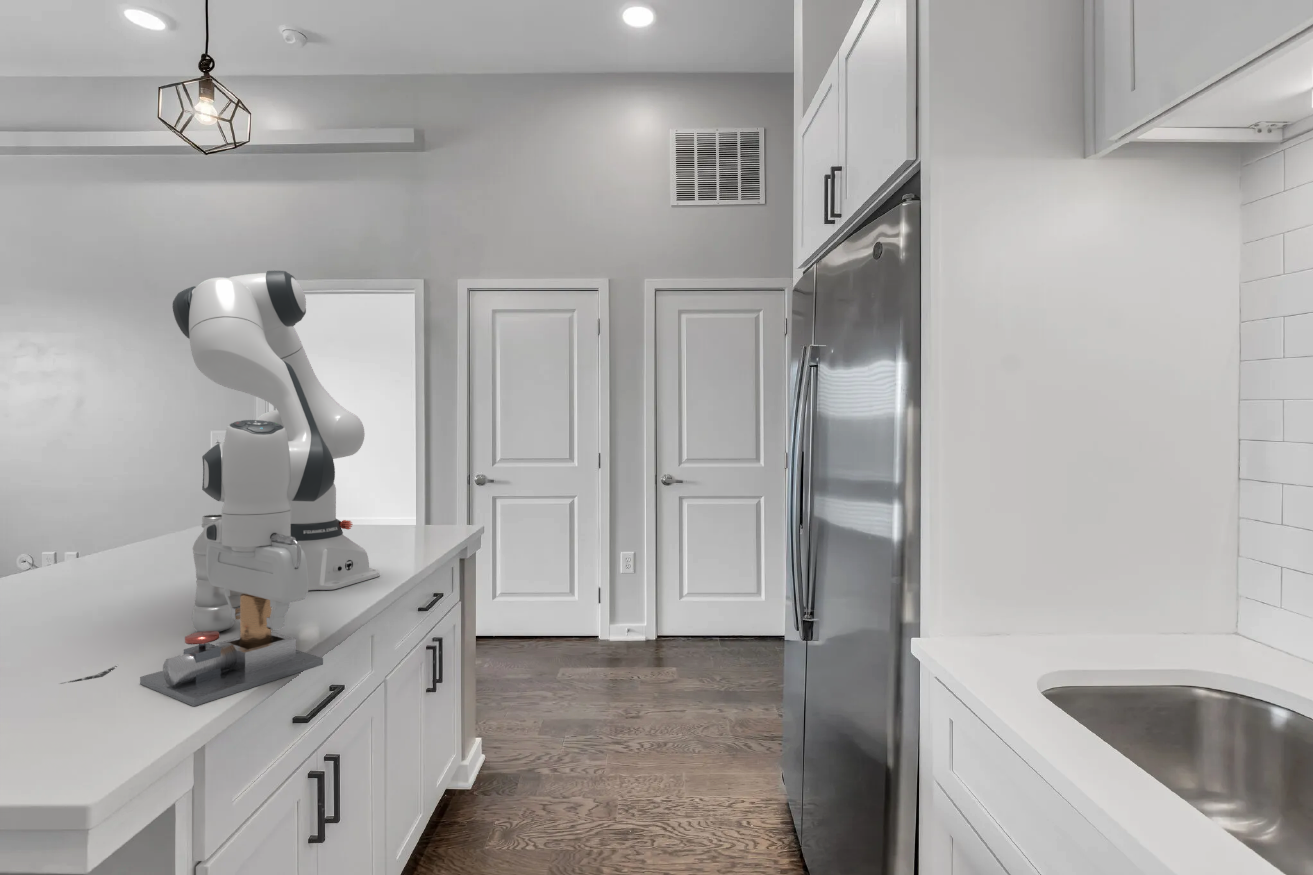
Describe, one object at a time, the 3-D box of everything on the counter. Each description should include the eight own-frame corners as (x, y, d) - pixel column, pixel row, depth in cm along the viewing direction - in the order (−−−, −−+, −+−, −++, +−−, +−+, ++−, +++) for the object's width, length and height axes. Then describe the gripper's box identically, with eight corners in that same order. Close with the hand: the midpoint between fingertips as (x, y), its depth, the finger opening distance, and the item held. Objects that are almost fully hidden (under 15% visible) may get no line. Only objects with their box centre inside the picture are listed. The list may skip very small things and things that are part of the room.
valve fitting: (268, 647, 110) (268, 605, 110) (323, 664, 103) (323, 619, 103) (140, 683, 95) (140, 635, 95) (193, 706, 88) (193, 653, 88)
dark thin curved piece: (51, 691, 91) (26, 688, 93) (51, 696, 91) (26, 693, 93) (148, 659, 103) (124, 657, 105) (148, 664, 103) (125, 662, 105)
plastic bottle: (230, 623, 123) (231, 512, 123) (241, 632, 118) (241, 516, 118) (188, 630, 118) (188, 515, 118) (196, 639, 114) (196, 519, 113)
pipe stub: (261, 654, 104) (261, 589, 104) (277, 659, 102) (277, 592, 102) (234, 662, 101) (234, 594, 101) (250, 667, 99) (250, 598, 99)
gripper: (320, 534, 99) (319, 629, 99) (240, 521, 109) (240, 608, 109) (277, 540, 93) (277, 641, 94) (197, 526, 103) (197, 617, 104)
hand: (256, 623), depth 102 cm, fingers open, 8 cm apart
